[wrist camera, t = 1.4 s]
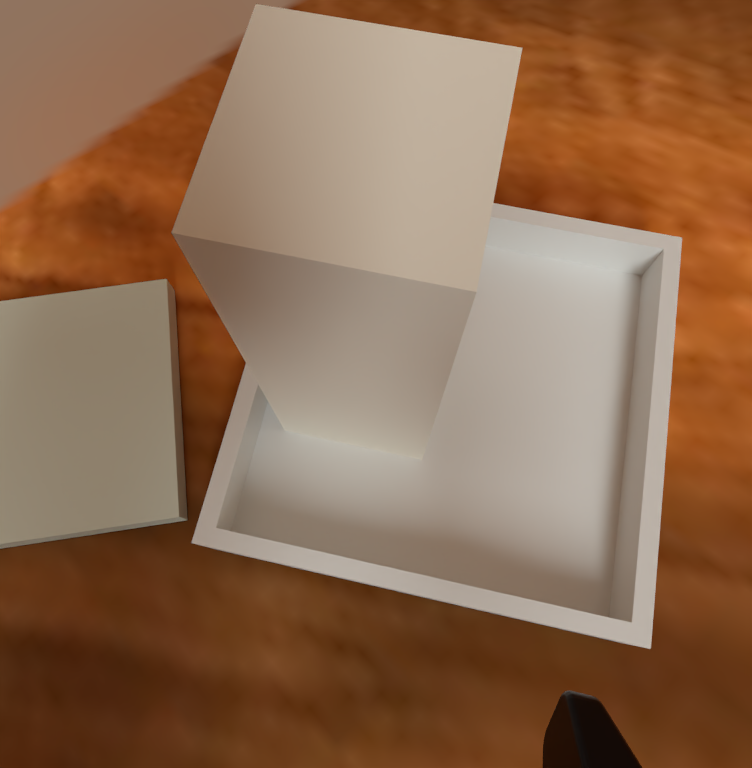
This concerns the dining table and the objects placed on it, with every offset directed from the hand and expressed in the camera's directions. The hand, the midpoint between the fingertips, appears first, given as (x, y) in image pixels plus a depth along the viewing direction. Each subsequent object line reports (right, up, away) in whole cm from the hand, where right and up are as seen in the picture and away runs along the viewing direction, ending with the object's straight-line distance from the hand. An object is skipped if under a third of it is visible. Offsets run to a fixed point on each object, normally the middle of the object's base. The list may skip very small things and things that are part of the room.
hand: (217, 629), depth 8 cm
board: (-10, +2, +15) cm, 18 cm away
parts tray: (+5, +3, +15) cm, 16 cm away
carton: (+2, +3, +15) cm, 15 cm away
